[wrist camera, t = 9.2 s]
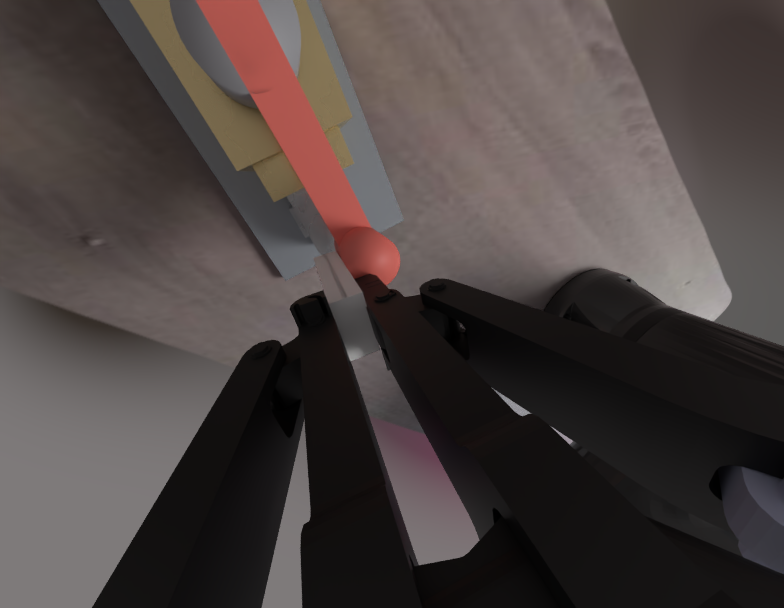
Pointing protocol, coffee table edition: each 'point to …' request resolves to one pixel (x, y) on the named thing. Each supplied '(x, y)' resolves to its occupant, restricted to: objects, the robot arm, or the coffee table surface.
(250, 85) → the lever
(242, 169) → the pipe valve
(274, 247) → the mount board
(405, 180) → the coffee table surface
